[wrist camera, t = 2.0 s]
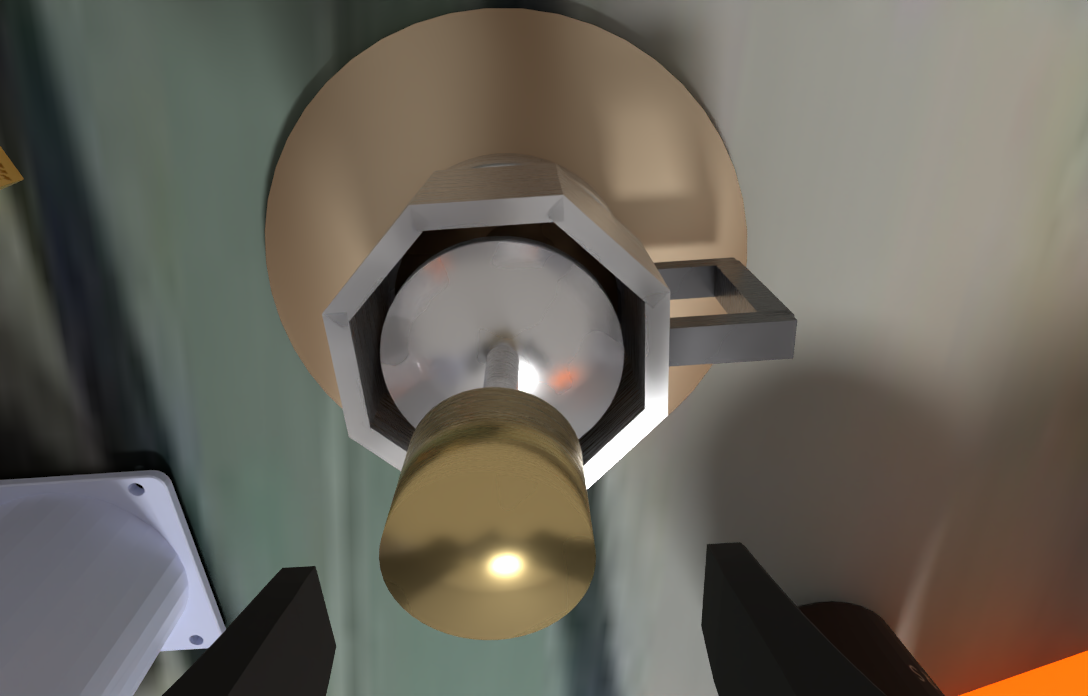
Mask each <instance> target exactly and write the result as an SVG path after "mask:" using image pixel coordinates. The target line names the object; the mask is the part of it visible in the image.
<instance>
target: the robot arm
mask: <svg viewBox="0 0 1088 696" xmlns="http://www.w3.org/2000/svg"><path fill="white" fill-rule="evenodd" d="M135 483H137V484H140V485H141V486H143V488H144V489H143V488H140V487H138V486H137V485H136V484H135ZM701 626H702V631H703V635H704V640H705V644H706V649H707V653H708V658H709V662H710V666H711V670H712V675H713V679H714V683H715V686H716V689H717V692H718V695H719V696H887V695H885V694H884V693H883V692H882V691H881V690H880V689H879V688H878V687H877V686H876V685H874V684H873V683H872V682H871V681H870V680H869V679H868V678H867V677H866V676H865V675H864V674H863V673H862V672H861V671H860V670H859V669H857V668H856V667H855V666H854V665H853V664H852V663H851V662H850V661H849V660H848V659H847V658H846V657H845V656H844V655H843V654H842V653H841V652H840V651H839V650H838V649H837V648H836V647H835V646H834V645H833V644H832V643H831V642H830V641H829V640H828V639H827V638H826V637H825V636H824V635H823V634H822V633H821V632H820V630H819V629H818V628H817V627H816V626H815V625H814V624H813V623H812V622H811V621H810V620H809V619H808V618H807V617H806V616H805V615H804V614H803V613H802V612H801V610H800V609H799V608H798V607H797V606H796V605H795V604H794V603H793V602H792V601H791V599H790V598H789V597H788V596H787V595H786V594H785V593H784V592H783V590H782V589H781V588H780V587H779V586H778V585H777V584H776V582H775V581H774V580H773V579H772V578H771V577H770V576H769V574H768V573H767V572H766V571H765V570H764V568H763V567H762V566H761V565H760V564H759V563H758V561H757V560H756V559H755V558H754V557H753V555H752V554H751V553H750V552H749V551H748V549H747V548H746V547H745V546H744V545H743V544H742V543H740V542H739V543H721V544H707V553H706V567H705V581H704V595H703V609H702V624H701ZM201 648H208V649H207V650H206V651H205V652H204V653H203V654H202V655H201V657H200V658H199V659H198V660H197V661H196V662H195V663H194V664H193V665H192V666H191V667H190V668H189V669H188V670H187V671H186V672H185V673H184V674H183V675H182V676H181V677H180V678H179V679H178V680H177V681H176V682H175V683H174V684H173V685H172V686H171V687H170V688H169V689H168V690H167V691H166V692H165V693H164V694H163V695H162V696H326V693H327V688H328V684H329V679H330V674H331V669H332V664H333V659H334V654H335V649H336V644H335V640H334V636H333V632H332V628H331V624H330V620H329V617H328V613H327V609H326V605H325V601H324V597H323V594H322V590H321V586H320V582H319V578H318V574H317V570H316V567H315V566H310V567H292V568H282V569H281V570H280V571H279V572H278V573H277V574H276V575H275V576H274V578H273V579H272V580H271V581H270V582H269V583H268V584H267V585H266V586H265V587H264V588H263V589H262V590H261V592H260V593H259V594H258V595H257V596H256V597H255V598H254V599H253V600H252V601H251V603H250V604H249V605H248V606H247V607H246V608H245V609H244V610H243V611H242V612H241V614H240V615H239V616H238V617H237V618H236V619H235V620H234V621H233V622H232V623H231V625H230V626H229V627H228V628H227V629H226V628H225V625H224V623H223V620H222V617H221V615H220V612H219V609H218V606H217V604H216V601H215V598H214V596H213V593H212V590H211V587H210V585H209V582H208V579H207V577H206V574H205V571H204V568H203V566H202V563H201V560H200V558H199V555H198V552H197V549H196V547H195V544H194V541H193V539H192V536H191V533H190V530H189V528H188V525H187V522H186V519H185V517H184V514H183V511H182V509H181V506H180V503H179V500H178V498H177V495H176V492H175V490H174V487H173V484H172V481H171V480H170V478H169V477H168V476H167V475H166V474H165V473H163V472H160V471H157V470H145V471H130V472H115V473H100V474H85V475H70V476H54V477H39V478H24V479H9V480H0V696H133V695H134V693H135V691H136V690H137V688H138V687H139V685H140V683H141V682H142V680H143V678H144V677H145V675H146V673H147V672H148V670H149V668H150V667H151V665H152V663H153V662H154V660H155V659H156V657H157V655H158V654H159V652H160V651H170V650H185V649H201Z"/></svg>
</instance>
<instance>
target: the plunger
mask: <svg viewBox="0 0 1088 696" xmlns="http://www.w3.org/2000/svg"><path fill="white" fill-rule="evenodd" d="M380 358H381V367H382V372H383V376H384V380H385V383H386V386H387V388H388V390H389V393H390V395H391V397H392V399H393V401H394V402H395V404H396V406H397V408H398V409H399V410H400V412H401V413H402V414H403V416H404V417H405V418H406V419H407V421H408V422H409V423H410V424H411V425H412V426H413V427H414V428H415V431H414V432H413V435H412V438H411V440H410V443H409V447H408V450H407V453H406V457H405V460H404V464H403V467H402V470H401V474H400V477H399V480H398V484H397V487H396V491H395V494H394V497H393V501H392V504H391V508H390V511H389V514H388V518H387V521H386V524H385V528H384V531H383V535H382V539H381V543H380V549H379V561H380V569H381V572H382V576H383V579H384V581H385V583H386V586H387V588H388V590H389V591H390V593H391V594H392V596H393V597H394V599H395V600H396V601H397V602H398V603H399V604H400V605H401V606H402V608H403V609H405V610H406V611H407V612H408V613H409V614H411V615H412V616H413V617H415V618H416V619H418V620H419V621H421V622H422V623H424V624H426V625H428V626H430V627H432V628H434V629H436V630H439V631H441V632H444V633H447V634H450V635H454V636H458V637H463V638H469V639H478V640H500V639H509V638H515V637H519V636H524V635H527V634H530V633H533V632H536V631H539V630H541V629H543V628H545V627H548V626H549V625H551V624H553V623H555V622H556V621H558V620H559V619H561V618H562V617H564V616H565V615H566V614H568V613H569V612H570V611H571V610H572V609H573V608H574V607H575V606H576V605H577V604H578V602H579V601H580V600H581V599H582V597H583V596H584V594H585V593H586V591H587V589H588V587H589V585H590V583H591V580H592V578H593V574H594V569H595V560H596V554H595V545H594V538H593V531H592V524H591V516H590V509H589V502H588V495H587V488H586V480H585V473H584V466H583V459H582V452H581V447H580V443H579V440H578V439H579V438H581V437H582V436H583V435H584V434H585V433H587V432H588V431H589V430H590V429H591V428H592V427H593V426H594V425H595V424H596V423H597V422H598V421H599V420H600V419H601V417H602V416H603V414H604V413H605V412H606V410H607V409H608V407H609V406H610V404H611V402H612V400H613V398H614V396H615V394H616V392H617V389H618V386H619V383H620V380H621V376H622V371H623V363H624V345H623V337H622V332H621V328H620V324H619V321H618V318H617V315H616V312H615V310H614V307H613V305H612V302H611V300H610V299H609V297H608V295H607V293H606V291H605V290H604V288H603V287H602V285H601V284H600V283H599V282H598V280H597V279H596V278H595V276H594V275H593V274H592V273H591V272H590V271H589V270H588V269H586V268H585V267H584V266H583V265H582V264H581V263H579V262H578V261H577V260H575V259H574V258H573V257H571V256H570V255H568V254H566V253H564V252H563V251H561V250H559V249H557V248H555V247H553V246H550V245H548V244H545V243H543V242H539V241H535V240H532V239H528V238H522V237H514V236H488V237H480V238H474V239H471V240H467V241H463V242H460V243H457V244H455V245H452V246H450V247H448V248H445V249H443V250H442V251H440V252H438V253H437V254H435V255H433V256H431V257H430V258H429V259H428V260H426V261H425V262H424V263H422V264H421V265H420V266H419V267H418V268H417V269H416V270H415V271H414V272H413V273H412V274H411V275H410V276H409V277H408V278H407V280H406V281H405V283H404V284H403V285H402V287H401V288H400V290H399V291H398V293H397V295H396V297H395V299H394V301H393V303H392V305H391V307H390V309H389V311H388V313H387V316H386V319H385V322H384V325H383V330H382V335H381V343H380Z"/></svg>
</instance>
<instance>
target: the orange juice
mask: <svg viewBox="0 0 1088 696" xmlns="http://www.w3.org/2000/svg"><path fill="white" fill-rule="evenodd" d="M959 696H1088V651H1085V652H1082V653H1080V654H1077V655H1074V656H1071V657H1068V658H1065V659H1062V660H1060V661H1057V662H1054V663H1051V664H1048V665H1045V666H1042V667H1040V668H1037V669H1034V670H1031V671H1028V672H1025V673H1022V674H1019V675H1017V676H1014V677H1011V678H1008V679H1005V680H1002V681H999V682H997V683H994V684H991V685H988V686H985V687H982V688H979V689H977V690H974V691H971V692H968V693H965V694H962V695H959Z"/></svg>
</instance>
